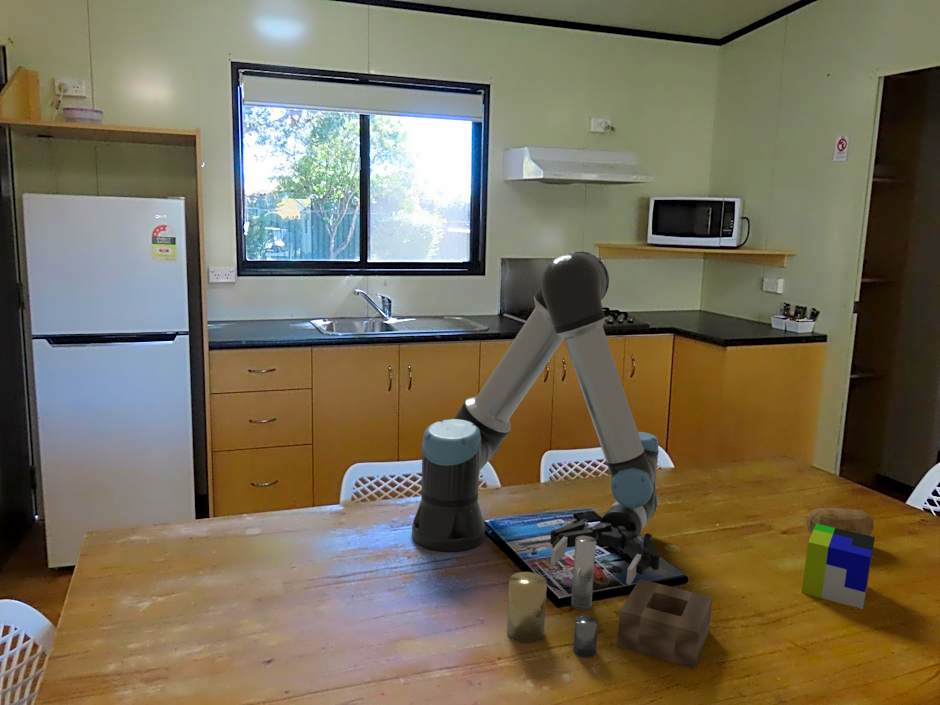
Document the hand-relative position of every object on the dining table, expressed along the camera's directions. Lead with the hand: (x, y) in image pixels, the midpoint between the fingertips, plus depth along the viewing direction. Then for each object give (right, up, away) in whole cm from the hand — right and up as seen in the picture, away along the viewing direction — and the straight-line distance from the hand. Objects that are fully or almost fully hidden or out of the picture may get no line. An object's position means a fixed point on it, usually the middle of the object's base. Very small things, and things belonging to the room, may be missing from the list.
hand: (589, 567), depth 128 cm
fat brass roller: (-12, -8, -8) cm, 17 cm away
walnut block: (+11, -9, -8) cm, 16 cm away
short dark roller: (-3, -9, -13) cm, 16 cm away
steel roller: (-1, -7, +1) cm, 7 cm away
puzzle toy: (+47, -7, +10) cm, 49 cm away
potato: (+57, -4, +29) cm, 64 cm away
